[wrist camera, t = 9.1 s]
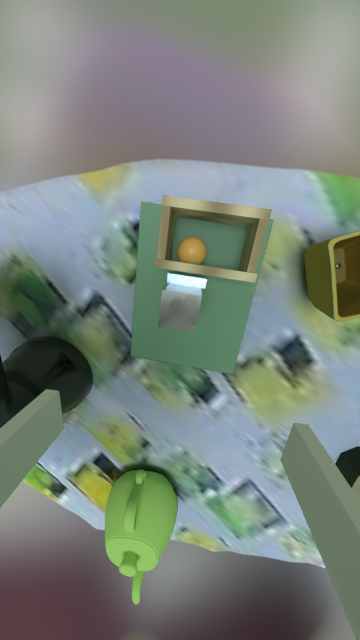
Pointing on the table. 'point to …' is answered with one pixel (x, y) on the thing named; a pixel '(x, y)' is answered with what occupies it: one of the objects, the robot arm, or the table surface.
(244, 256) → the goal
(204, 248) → the ball
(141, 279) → the board
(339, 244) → the flower pot
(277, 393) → the table surface
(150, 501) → the teapot
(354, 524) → the robot arm
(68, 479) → the table surface
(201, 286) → the block
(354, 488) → the wine bottle
